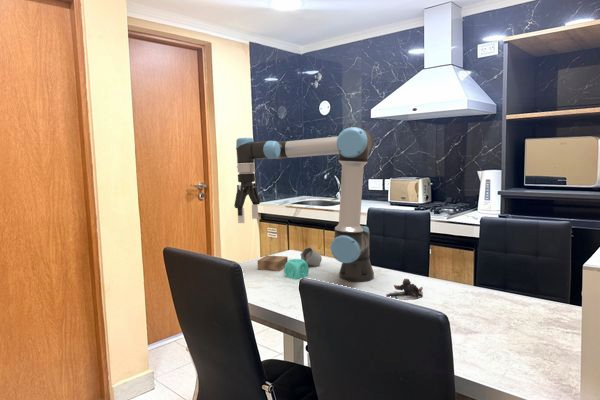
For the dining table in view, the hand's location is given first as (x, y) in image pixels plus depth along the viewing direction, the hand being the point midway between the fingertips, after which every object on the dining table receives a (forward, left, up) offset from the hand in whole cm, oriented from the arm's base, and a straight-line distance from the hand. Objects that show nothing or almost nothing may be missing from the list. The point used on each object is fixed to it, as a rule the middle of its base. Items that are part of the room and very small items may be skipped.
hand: (248, 220), depth 191 cm
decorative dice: (-20, -6, -27) cm, 34 cm away
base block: (-4, -17, -27) cm, 32 cm away
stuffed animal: (-72, +1, -29) cm, 77 cm away
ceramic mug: (-19, -28, -27) cm, 43 cm away
